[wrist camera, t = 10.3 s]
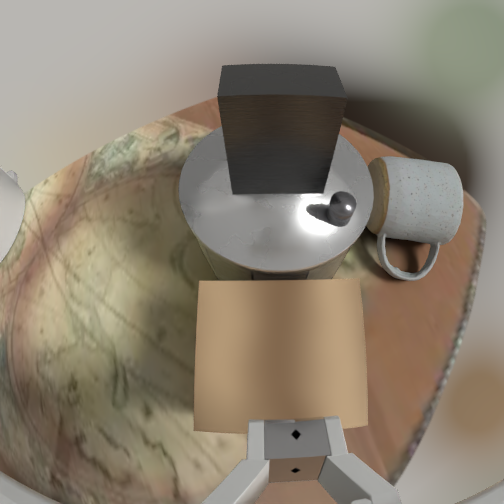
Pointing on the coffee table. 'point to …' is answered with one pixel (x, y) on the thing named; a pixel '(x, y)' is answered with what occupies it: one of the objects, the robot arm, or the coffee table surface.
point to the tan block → (279, 353)
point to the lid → (277, 172)
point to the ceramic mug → (414, 206)
